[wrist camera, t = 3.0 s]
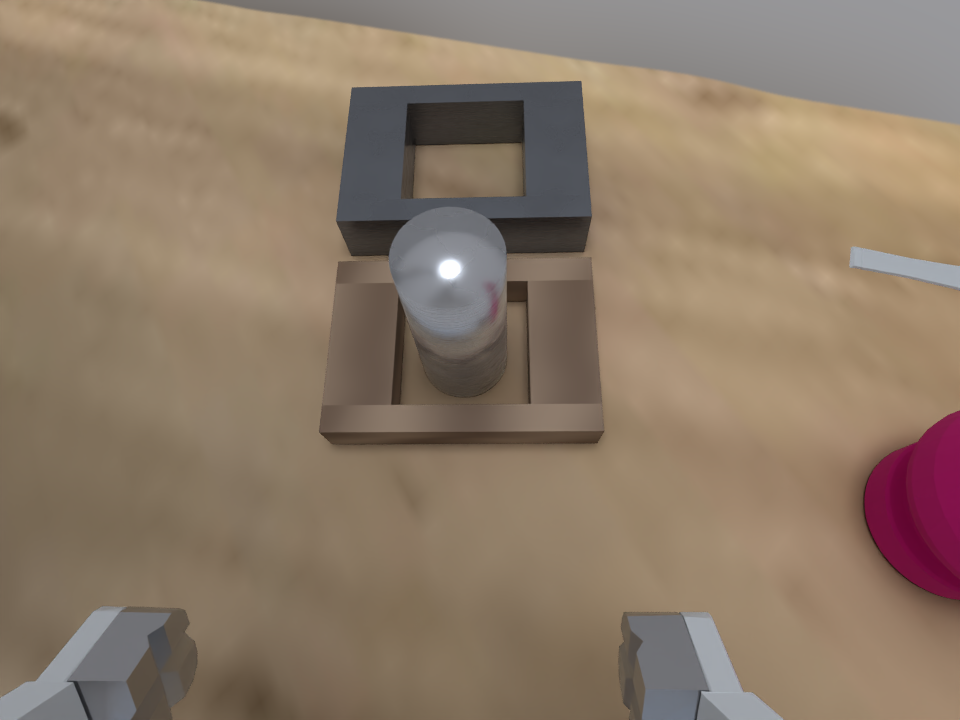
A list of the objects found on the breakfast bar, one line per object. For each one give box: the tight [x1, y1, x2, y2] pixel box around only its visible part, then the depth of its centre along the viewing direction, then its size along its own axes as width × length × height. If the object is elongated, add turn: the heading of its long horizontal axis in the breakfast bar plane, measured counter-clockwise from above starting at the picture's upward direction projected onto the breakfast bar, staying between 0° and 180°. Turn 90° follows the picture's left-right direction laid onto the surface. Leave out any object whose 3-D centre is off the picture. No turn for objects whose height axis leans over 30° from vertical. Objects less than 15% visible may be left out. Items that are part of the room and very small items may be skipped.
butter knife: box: [850, 247, 960, 291], centre depth 30 cm, size 1×24×3 cm
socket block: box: [336, 81, 592, 256], centre depth 31 cm, size 12×8×3 cm
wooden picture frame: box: [319, 258, 604, 444], centre depth 27 cm, size 12×8×2 cm
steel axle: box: [389, 207, 507, 397], centre depth 24 cm, size 4×4×9 cm
